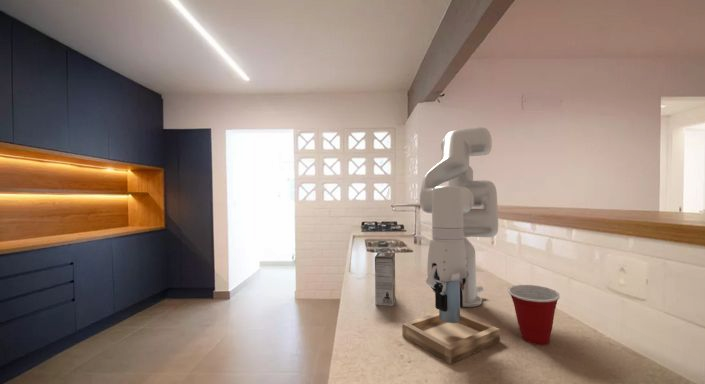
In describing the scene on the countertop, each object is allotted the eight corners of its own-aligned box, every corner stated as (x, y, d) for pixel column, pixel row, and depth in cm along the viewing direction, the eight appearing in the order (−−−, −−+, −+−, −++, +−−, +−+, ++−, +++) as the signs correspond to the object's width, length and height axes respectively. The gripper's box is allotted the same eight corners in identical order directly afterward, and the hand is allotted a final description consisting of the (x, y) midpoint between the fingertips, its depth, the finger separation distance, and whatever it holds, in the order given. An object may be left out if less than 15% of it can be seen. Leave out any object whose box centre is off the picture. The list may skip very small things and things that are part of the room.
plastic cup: (499, 334, 72) (498, 286, 72) (528, 326, 76) (527, 282, 76) (541, 355, 61) (539, 300, 62) (572, 345, 65) (570, 294, 66)
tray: (449, 319, 81) (449, 309, 81) (499, 341, 68) (499, 328, 68) (402, 335, 71) (402, 323, 71) (450, 364, 58) (450, 349, 58)
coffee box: (377, 296, 101) (377, 251, 102) (395, 297, 100) (395, 252, 101) (374, 305, 92) (374, 256, 93) (394, 306, 91) (393, 257, 92)
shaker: (448, 313, 73) (447, 268, 73) (465, 320, 68) (464, 272, 69) (434, 317, 70) (433, 270, 71) (451, 324, 66) (450, 275, 66)
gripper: (457, 231, 78) (458, 297, 77) (412, 235, 69) (413, 309, 68) (481, 233, 72) (483, 305, 71) (435, 238, 63) (437, 320, 62)
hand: (449, 306), depth 69 cm, fingers closed on shaker, 5 cm apart
